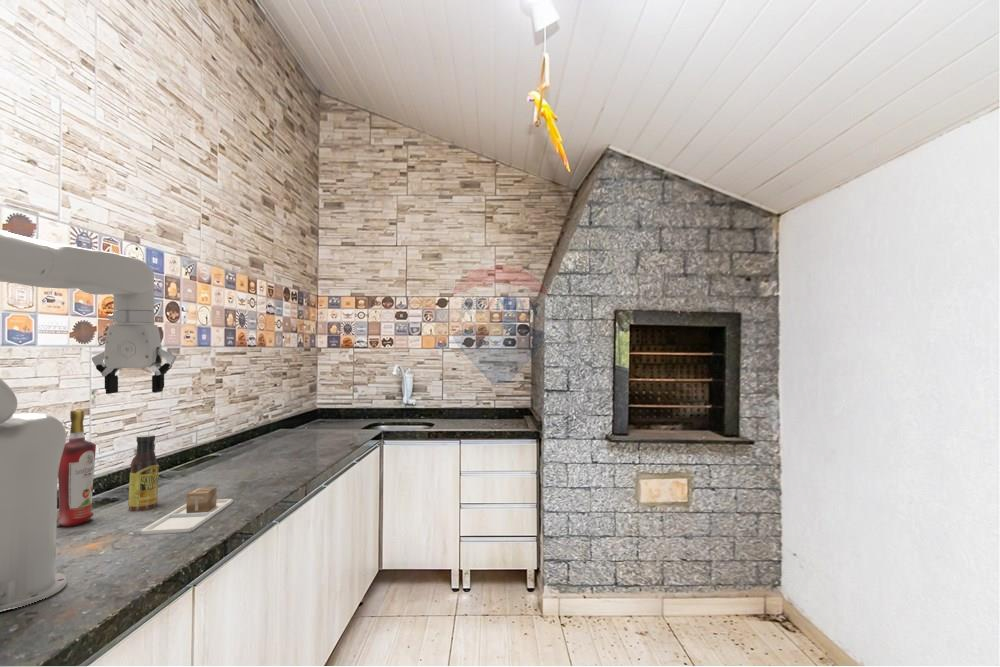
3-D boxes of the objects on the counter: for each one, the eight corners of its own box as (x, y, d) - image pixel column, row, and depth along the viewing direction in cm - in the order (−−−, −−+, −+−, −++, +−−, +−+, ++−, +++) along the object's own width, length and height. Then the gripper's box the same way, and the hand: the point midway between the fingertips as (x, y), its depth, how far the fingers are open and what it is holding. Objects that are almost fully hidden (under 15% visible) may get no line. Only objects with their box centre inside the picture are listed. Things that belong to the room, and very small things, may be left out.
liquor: (78, 517, 122) (80, 408, 123) (102, 518, 120) (104, 408, 121) (46, 527, 114) (49, 412, 115) (71, 529, 113) (74, 412, 114)
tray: (190, 535, 108) (190, 528, 108) (138, 538, 107) (139, 531, 107) (233, 504, 130) (233, 498, 130) (191, 506, 129) (191, 500, 129)
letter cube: (206, 512, 122) (206, 492, 122) (186, 513, 121) (186, 493, 121) (216, 506, 127) (216, 486, 127) (196, 506, 126) (196, 487, 126)
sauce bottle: (141, 515, 123) (142, 438, 123) (121, 513, 124) (123, 437, 125) (164, 506, 129) (165, 433, 130) (145, 505, 130) (146, 433, 131)
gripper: (81, 318, 105) (81, 395, 104) (165, 318, 107) (166, 393, 107) (104, 320, 112) (104, 391, 112) (183, 319, 114) (183, 389, 114)
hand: (134, 392), depth 109 cm, fingers open, 9 cm apart
